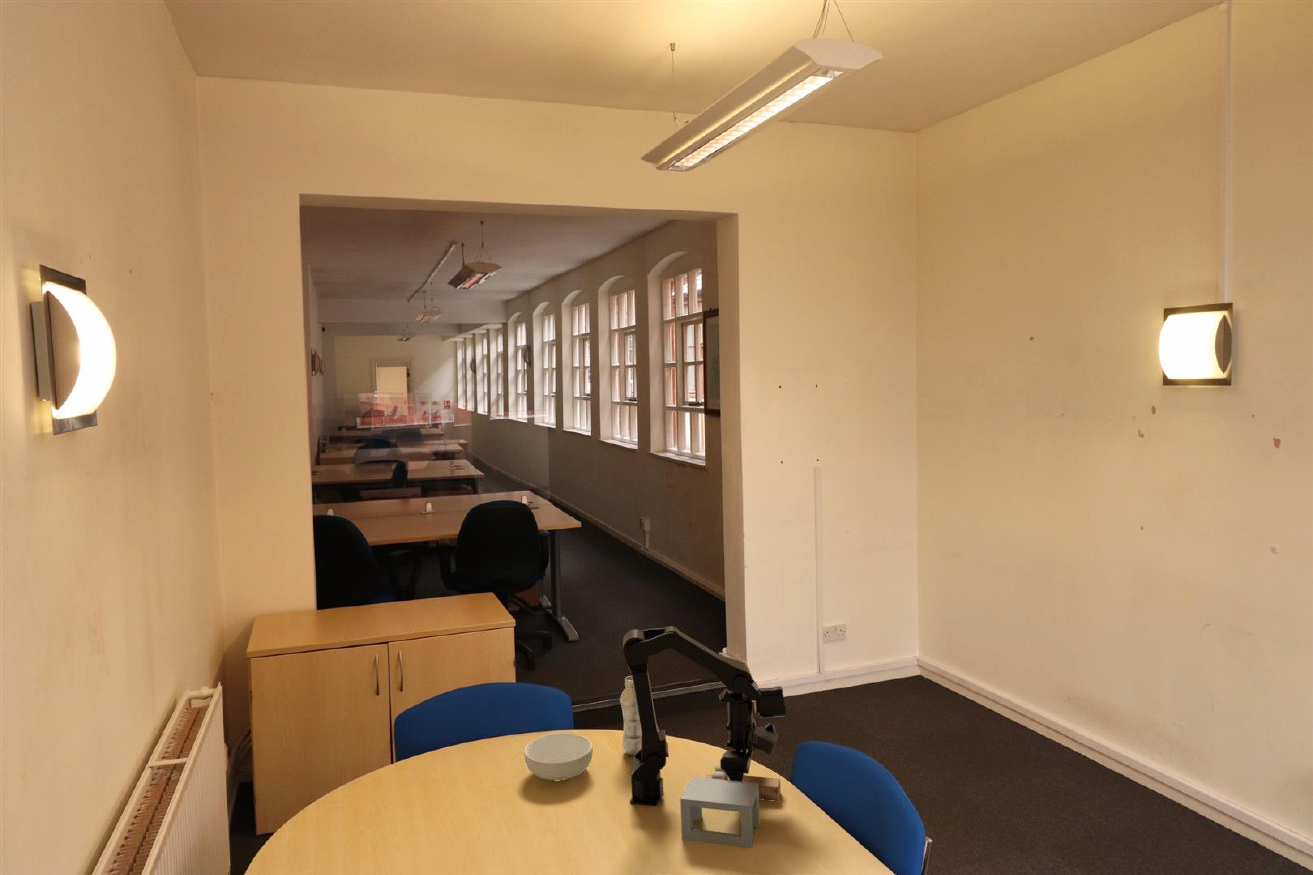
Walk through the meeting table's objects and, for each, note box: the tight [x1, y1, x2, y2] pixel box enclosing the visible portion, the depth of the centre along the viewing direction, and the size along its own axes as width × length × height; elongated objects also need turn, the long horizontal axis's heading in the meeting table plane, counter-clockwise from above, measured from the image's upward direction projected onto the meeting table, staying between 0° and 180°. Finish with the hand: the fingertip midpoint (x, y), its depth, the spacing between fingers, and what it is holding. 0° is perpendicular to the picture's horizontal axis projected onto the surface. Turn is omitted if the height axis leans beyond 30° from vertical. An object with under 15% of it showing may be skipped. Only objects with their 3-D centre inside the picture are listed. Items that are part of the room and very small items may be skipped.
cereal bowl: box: [523, 732, 594, 781], centre depth 216 cm, size 17×17×7 cm
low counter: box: [679, 776, 761, 849], centre depth 187 cm, size 15×10×9 cm, turn 73°
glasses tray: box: [704, 764, 782, 802], centre depth 203 cm, size 18×7×5 cm, turn 73°
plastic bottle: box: [619, 675, 642, 756], centre depth 226 cm, size 6×7×20 cm
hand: (742, 782), depth 203 cm, fingers open, 9 cm apart
